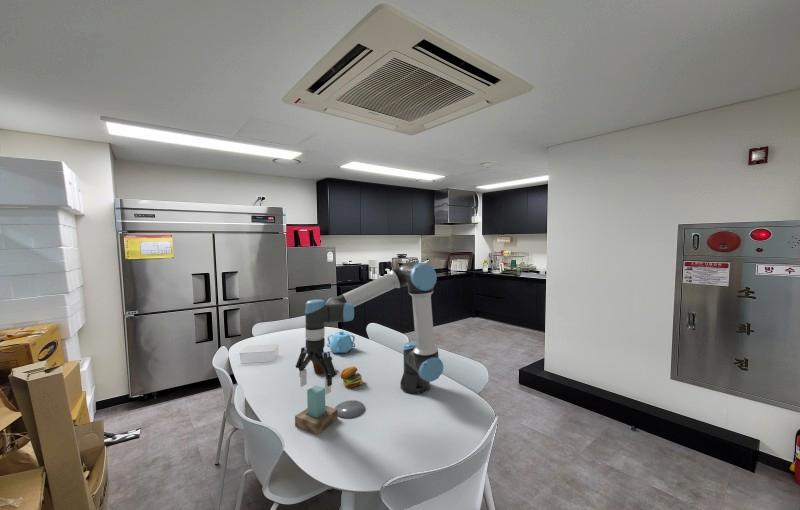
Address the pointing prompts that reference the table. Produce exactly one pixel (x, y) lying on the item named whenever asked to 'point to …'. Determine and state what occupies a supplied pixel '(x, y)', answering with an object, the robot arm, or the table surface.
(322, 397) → the post
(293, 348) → the table surface
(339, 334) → the decorative pot
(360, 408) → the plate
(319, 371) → the muffin
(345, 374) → the cheeseburger
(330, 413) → the holder
